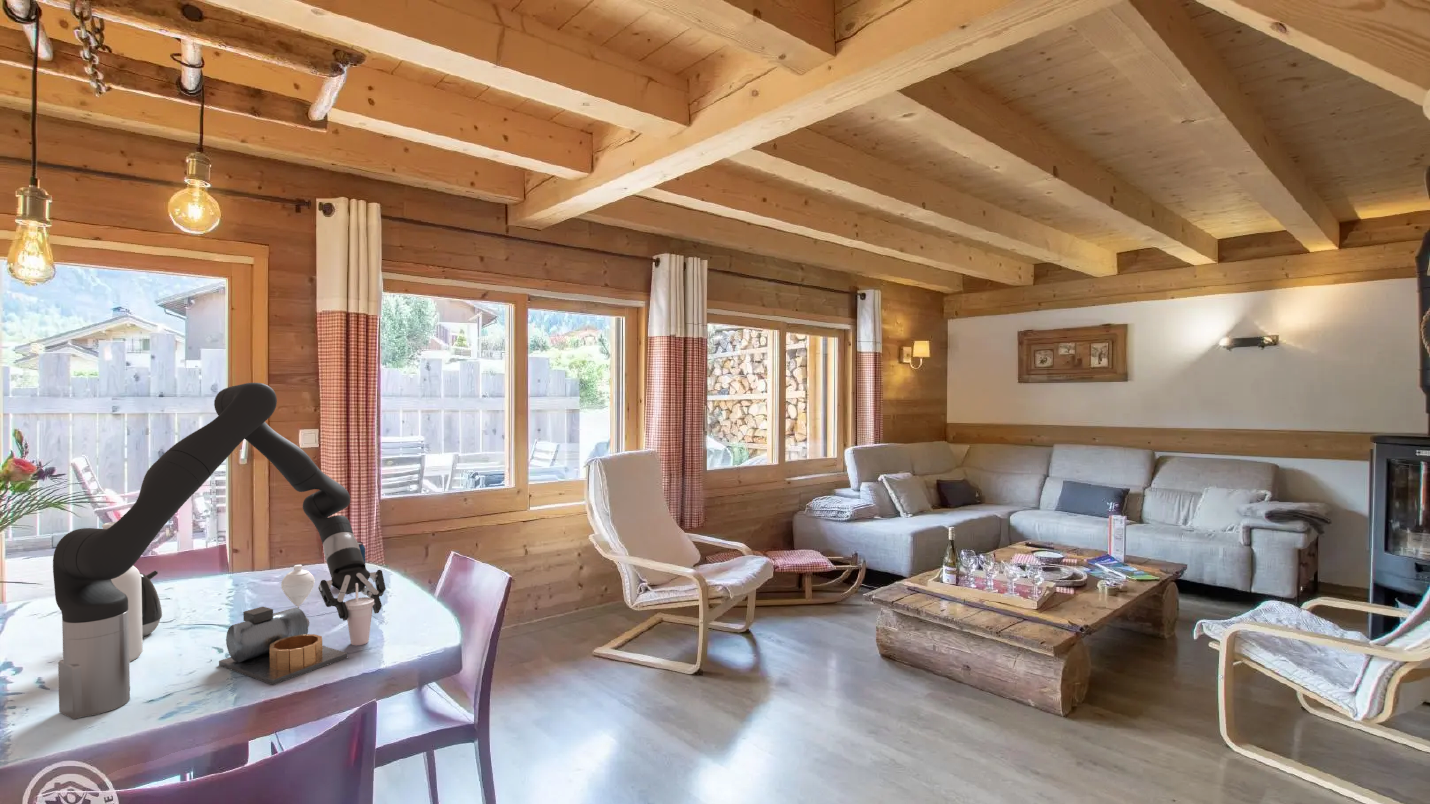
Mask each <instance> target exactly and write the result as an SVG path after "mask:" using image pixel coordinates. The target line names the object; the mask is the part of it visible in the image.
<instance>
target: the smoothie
mask: <svg viewBox="0 0 1430 804" xmlns="http://www.w3.org/2000/svg"><path fill="white" fill-rule="evenodd" d="M355 586H356V592H355V598H351V599H348V600H346V601H344V602H345V604H346V608H347V611H348V614H349V617H348V619H347V620H346V622H347V626H348V627H347V628H348V633H349V640H350V644H351V646H363V645H365V644H367V643H369V642H370V641H369V640H370V635H371V634H370V632H371V625H372V615H373V605H374V604H375V603H374V599H373V598H369V597H368V596H365V597H359V592H358V583H356V584H355Z"/></svg>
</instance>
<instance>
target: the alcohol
mask: <svg viewBox="0 0 1430 804" xmlns="http://www.w3.org/2000/svg"><path fill="white" fill-rule="evenodd" d="M116 522H117V521H109V522H105V523H103V524H102V525H101V528H102V529H108V528H110V527H111V526H112V525H114V524H115V523H116ZM140 573H141V572H140V570H139V569H138V568H137V567H136V566H134V565H133V566H132V567H131V568H130V569H129V570H128V571H127V572H125V573H124V574H122V575H121V576H119V577H117V578H114V579H111V581H112V583H113V584H114V586H115V587H116V588H117V589H118V590H120V591H121V592H123V593H124V594H125V595H126V596H127V597H128V617H129V663H130V662H133V661H134V660H136V659H138V658H140V656H141V655H142V653H143V651H144V650H143V645H144V644H143V641H144V640H143V637H142V585H141V575H140Z"/></svg>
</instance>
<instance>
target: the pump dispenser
mask: <svg viewBox="0 0 1430 804" xmlns="http://www.w3.org/2000/svg"><path fill="white" fill-rule="evenodd" d="M158 574H159V572H158V571H157V570H154V571H152V572H150V573H148V574H145V573H142V572H140V575H141V585H142V638H144V637H146V636H148V635H150V634H151V633H153V632H154V631H155V630H156V629H157V627H158V626H159V623H160V621H161V619H162V617H163V612H162V605H161V601H160V597H159V595H158V591H157V590H156V588H155V585H154V583H153V582H152V580H151V579H153V578H154V577H156V576H157V575H158Z"/></svg>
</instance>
